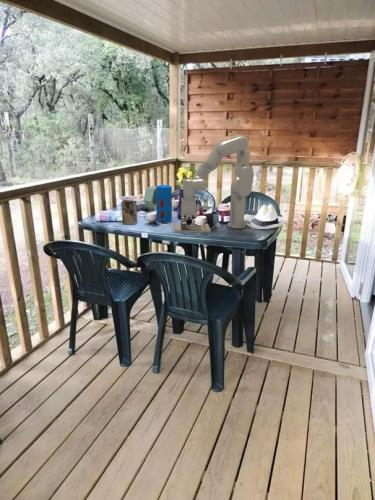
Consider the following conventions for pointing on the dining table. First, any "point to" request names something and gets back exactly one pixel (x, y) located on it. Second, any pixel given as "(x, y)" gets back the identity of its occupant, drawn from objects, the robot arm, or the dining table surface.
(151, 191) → the planter
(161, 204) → the blue tall box
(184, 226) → the breaker
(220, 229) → the dining table surface
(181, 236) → the dining table surface
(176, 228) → the panel
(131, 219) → the coffee box
